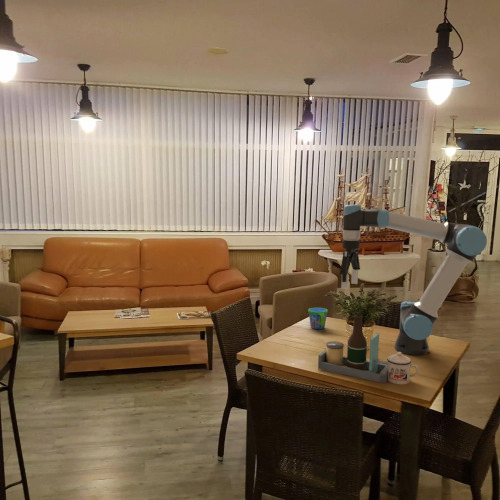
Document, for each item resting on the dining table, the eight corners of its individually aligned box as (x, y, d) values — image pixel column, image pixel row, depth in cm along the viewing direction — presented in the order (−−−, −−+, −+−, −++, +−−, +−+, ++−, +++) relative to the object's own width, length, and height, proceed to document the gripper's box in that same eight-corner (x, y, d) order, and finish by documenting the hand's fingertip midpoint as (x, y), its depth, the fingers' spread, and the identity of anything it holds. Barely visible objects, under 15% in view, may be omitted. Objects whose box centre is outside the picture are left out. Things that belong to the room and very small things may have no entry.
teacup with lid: (385, 383, 181) (387, 355, 180) (386, 375, 190) (387, 347, 188) (418, 387, 177) (419, 358, 176) (417, 378, 186) (418, 350, 185)
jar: (342, 364, 200) (343, 341, 199) (343, 370, 193) (343, 347, 192) (326, 362, 202) (326, 340, 200) (325, 369, 195) (326, 346, 193)
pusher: (392, 373, 189) (394, 335, 187) (386, 381, 182) (388, 342, 180) (375, 370, 193) (376, 333, 191) (368, 377, 185) (370, 339, 183)
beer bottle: (366, 375, 188) (368, 318, 185) (346, 373, 190) (348, 317, 186) (365, 368, 196) (367, 313, 192) (346, 366, 197) (348, 312, 194)
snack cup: (304, 323, 260) (305, 306, 258) (322, 323, 261) (323, 305, 259) (311, 332, 244) (312, 313, 243) (331, 331, 245) (331, 313, 244)
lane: (392, 373, 191) (393, 359, 190) (384, 383, 181) (385, 368, 180) (328, 359, 205) (329, 346, 204) (318, 368, 195) (318, 355, 194)
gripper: (352, 236, 218) (350, 280, 221) (333, 241, 197) (331, 290, 200) (367, 237, 214) (366, 282, 217) (350, 242, 193) (348, 292, 196)
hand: (349, 286), depth 208 cm, fingers open, 13 cm apart
